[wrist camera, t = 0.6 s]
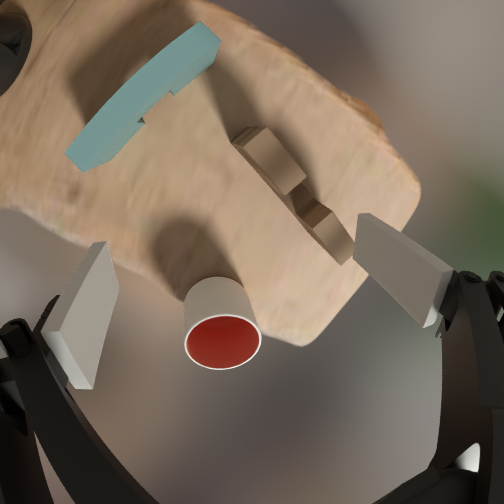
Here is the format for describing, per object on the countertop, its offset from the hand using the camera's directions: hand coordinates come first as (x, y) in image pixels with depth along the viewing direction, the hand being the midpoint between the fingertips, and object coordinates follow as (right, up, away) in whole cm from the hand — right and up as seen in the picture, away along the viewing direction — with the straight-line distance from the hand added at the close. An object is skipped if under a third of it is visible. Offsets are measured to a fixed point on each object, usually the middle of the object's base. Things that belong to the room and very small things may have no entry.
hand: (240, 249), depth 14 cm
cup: (-5, -8, +30) cm, 31 cm away
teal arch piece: (-12, +18, +16) cm, 27 cm away
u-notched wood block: (+5, +9, +24) cm, 26 cm away
